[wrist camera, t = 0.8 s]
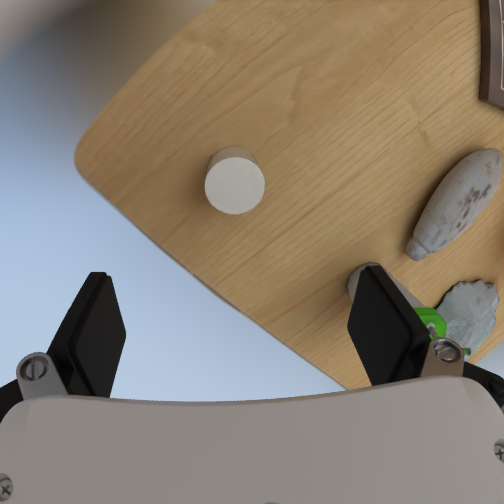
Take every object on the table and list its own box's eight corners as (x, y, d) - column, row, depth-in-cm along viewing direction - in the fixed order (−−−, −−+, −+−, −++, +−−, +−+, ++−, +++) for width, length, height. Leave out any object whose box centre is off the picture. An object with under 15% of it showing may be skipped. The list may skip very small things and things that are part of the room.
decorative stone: (387, 237, 29) (403, 254, 26) (473, 124, 24) (495, 131, 21) (418, 264, 31) (434, 282, 28) (497, 162, 26) (517, 172, 23)
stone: (520, 282, 31) (489, 367, 36) (503, 270, 35) (476, 352, 40) (442, 290, 31) (412, 386, 36) (425, 275, 35) (401, 368, 40)
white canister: (207, 147, 24) (204, 157, 20) (260, 147, 24) (266, 157, 21) (207, 196, 26) (205, 215, 22) (258, 196, 26) (263, 214, 23)
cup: (348, 320, 34) (396, 431, 21) (319, 275, 31) (373, 401, 18) (406, 285, 32) (474, 384, 19) (385, 234, 29) (473, 338, 16)
